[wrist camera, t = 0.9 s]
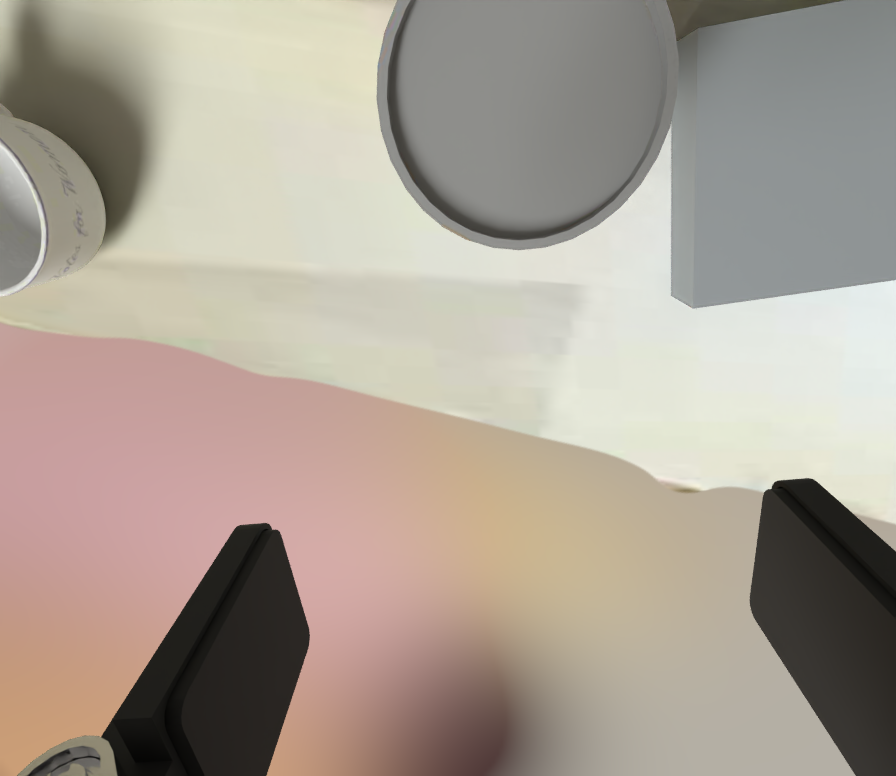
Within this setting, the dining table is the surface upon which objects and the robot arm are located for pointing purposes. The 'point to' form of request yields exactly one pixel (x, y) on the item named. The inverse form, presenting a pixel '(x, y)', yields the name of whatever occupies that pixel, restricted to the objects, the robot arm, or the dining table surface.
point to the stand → (785, 154)
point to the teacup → (44, 207)
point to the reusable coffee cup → (525, 111)
